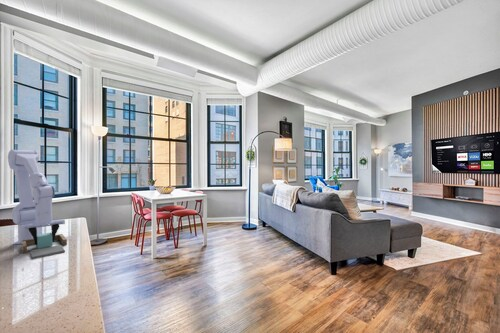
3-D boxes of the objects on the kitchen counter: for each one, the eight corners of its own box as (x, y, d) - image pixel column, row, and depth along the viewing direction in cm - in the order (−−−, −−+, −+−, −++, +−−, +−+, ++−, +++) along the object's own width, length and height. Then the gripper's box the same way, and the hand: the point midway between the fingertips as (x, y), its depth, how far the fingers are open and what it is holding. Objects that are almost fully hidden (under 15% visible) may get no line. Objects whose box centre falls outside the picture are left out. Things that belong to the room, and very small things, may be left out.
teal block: (36, 246, 108) (36, 234, 108) (51, 243, 111) (50, 232, 111) (37, 248, 104) (37, 237, 104) (52, 245, 108) (52, 234, 108)
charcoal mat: (30, 252, 99) (30, 250, 99) (61, 246, 106) (61, 244, 106) (32, 259, 92) (32, 257, 92) (64, 252, 99) (64, 250, 99)
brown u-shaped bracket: (21, 246, 108) (21, 240, 108) (62, 238, 118) (62, 233, 118) (23, 253, 98) (22, 247, 98) (66, 244, 108) (66, 239, 108)
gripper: (22, 216, 100) (22, 249, 100) (65, 211, 110) (66, 240, 110) (21, 214, 105) (22, 245, 105) (63, 209, 115) (63, 237, 115)
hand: (44, 242), depth 108 cm, fingers closed on teal block, 5 cm apart
